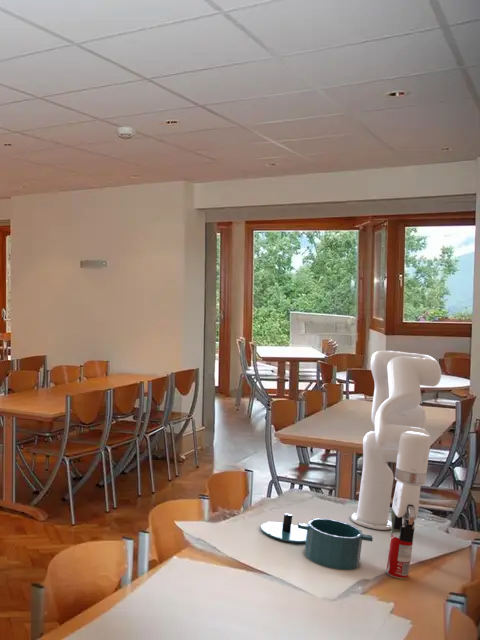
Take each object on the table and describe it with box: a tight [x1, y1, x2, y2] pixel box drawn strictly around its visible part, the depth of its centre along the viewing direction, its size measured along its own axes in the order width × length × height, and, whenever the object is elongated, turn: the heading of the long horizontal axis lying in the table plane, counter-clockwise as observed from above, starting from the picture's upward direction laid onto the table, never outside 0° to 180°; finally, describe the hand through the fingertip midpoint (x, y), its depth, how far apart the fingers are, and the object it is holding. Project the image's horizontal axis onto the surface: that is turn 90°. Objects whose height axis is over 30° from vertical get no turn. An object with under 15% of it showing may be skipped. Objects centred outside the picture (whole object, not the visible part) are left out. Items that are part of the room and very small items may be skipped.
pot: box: [297, 518, 374, 571], centre depth 220 cm, size 15×20×10 cm
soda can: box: [385, 532, 414, 580], centre depth 211 cm, size 6×6×12 cm
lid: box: [260, 512, 307, 543], centre depth 237 cm, size 16×16×7 cm
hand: (402, 535), depth 211 cm, fingers open, 9 cm apart
